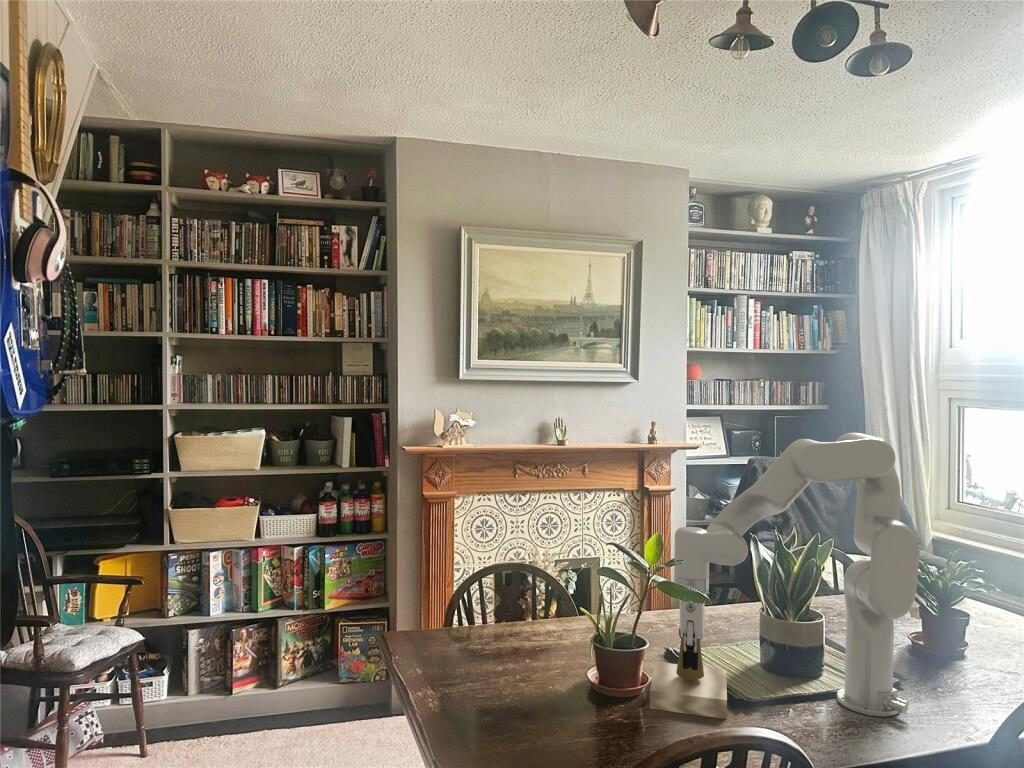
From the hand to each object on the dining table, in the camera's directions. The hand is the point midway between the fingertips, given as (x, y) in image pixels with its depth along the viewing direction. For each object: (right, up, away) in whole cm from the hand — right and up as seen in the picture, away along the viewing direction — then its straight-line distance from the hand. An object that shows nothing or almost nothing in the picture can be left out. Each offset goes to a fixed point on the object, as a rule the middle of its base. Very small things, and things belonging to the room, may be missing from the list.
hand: (690, 663), depth 163 cm
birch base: (0, -8, 0) cm, 8 cm away
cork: (0, -2, 0) cm, 2 cm away
